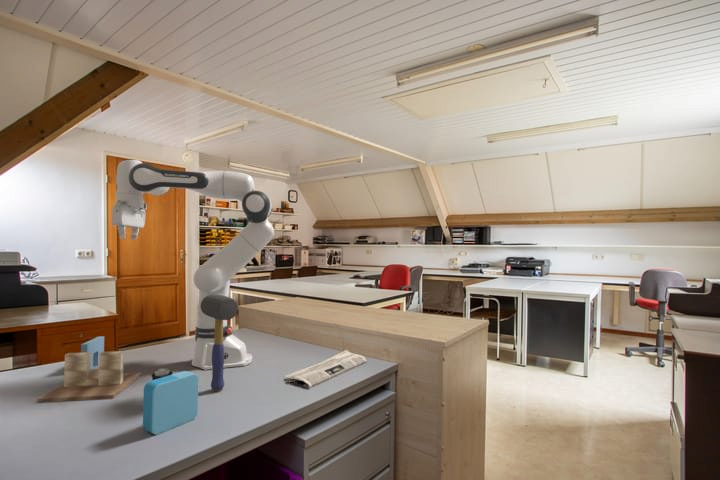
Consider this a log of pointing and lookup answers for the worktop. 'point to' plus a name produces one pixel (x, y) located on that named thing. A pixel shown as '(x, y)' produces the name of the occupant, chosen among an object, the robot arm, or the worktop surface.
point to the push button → (161, 373)
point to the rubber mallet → (218, 332)
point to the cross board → (88, 391)
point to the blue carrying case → (170, 402)
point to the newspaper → (327, 369)
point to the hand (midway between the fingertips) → (128, 238)
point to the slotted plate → (94, 349)
